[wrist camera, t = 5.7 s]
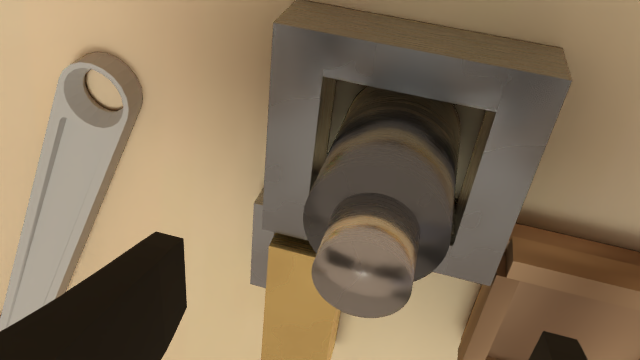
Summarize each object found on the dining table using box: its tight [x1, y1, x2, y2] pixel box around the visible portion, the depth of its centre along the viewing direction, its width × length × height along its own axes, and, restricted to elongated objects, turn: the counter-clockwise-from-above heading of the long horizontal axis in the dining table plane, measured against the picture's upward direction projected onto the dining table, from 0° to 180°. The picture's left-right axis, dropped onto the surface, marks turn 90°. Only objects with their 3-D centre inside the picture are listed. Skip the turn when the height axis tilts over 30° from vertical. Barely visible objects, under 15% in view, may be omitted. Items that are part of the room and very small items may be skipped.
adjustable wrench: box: [0, 52, 143, 331], centre depth 26 cm, size 25×6×2 cm, turn 147°
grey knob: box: [303, 86, 460, 318], centre depth 15 cm, size 4×4×7 cm
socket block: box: [250, 0, 572, 288], centre depth 18 cm, size 8×11×2 cm
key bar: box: [261, 233, 341, 360], centre depth 21 cm, size 2×7×2 cm, turn 175°
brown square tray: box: [458, 223, 640, 360], centre depth 19 cm, size 6×6×2 cm
